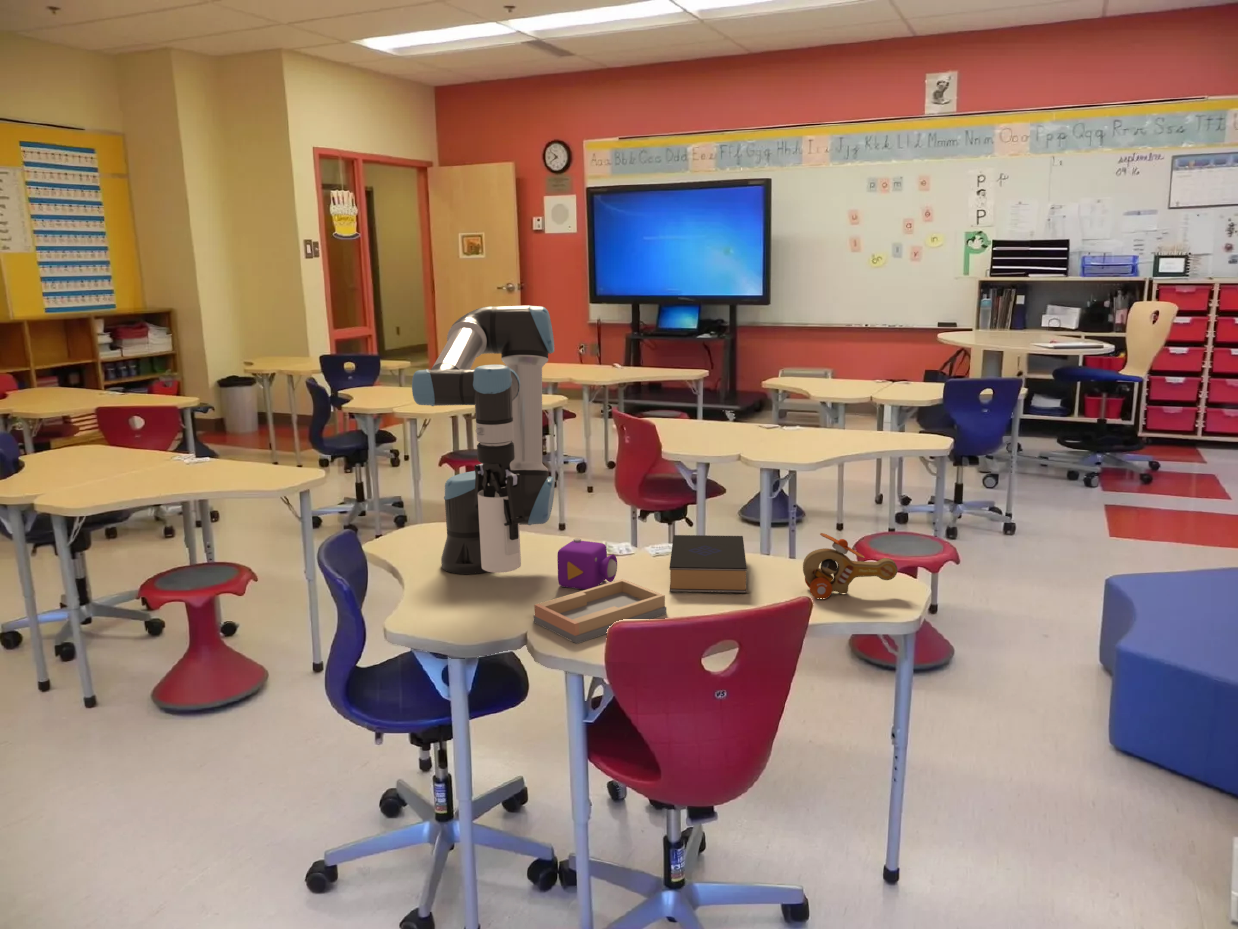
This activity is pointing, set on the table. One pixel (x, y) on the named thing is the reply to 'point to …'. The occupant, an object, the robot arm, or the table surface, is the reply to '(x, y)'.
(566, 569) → the toy camera
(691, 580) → the book
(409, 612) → the table surface
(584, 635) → the board
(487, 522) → the cup
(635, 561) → the table surface
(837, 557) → the toy helicopter
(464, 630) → the table surface
